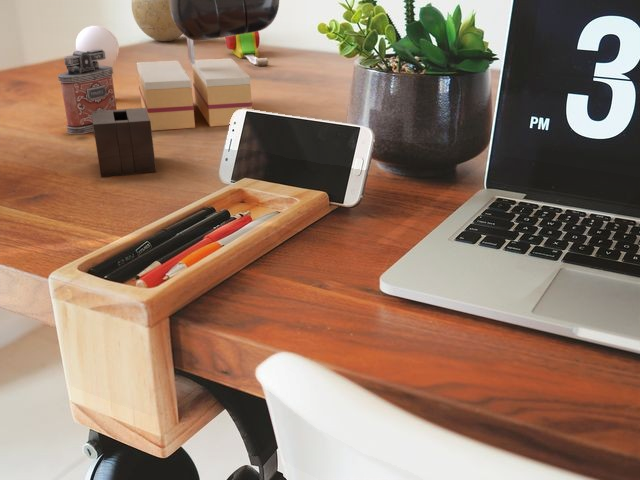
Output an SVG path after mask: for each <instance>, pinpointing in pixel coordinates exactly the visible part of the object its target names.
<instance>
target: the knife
mask: <svg viewBox="0 0 640 480" xmlns="http://www.w3.org/2000/svg"><path fill="white" fill-rule="evenodd" d="M186 46H187V54H188V55H187V56H188V61H189V62H190V64H191V65H192V64H194V63H195V60H196V57H195V55H196V54H195V44H194V41H193V40H191V39H189V38H187V37H186Z"/></svg>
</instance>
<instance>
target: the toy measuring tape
mask: <svg viewBox="0 0 640 480" xmlns="http://www.w3.org/2000/svg"><path fill="white" fill-rule="evenodd" d="M224 41H225V45H226V48H227V49H228V50H231V51H232V53H233V54H234V55H235V56H236V57H237V58H239V59H247V60H248V61H249V63H251V64H253V65H254V66H255V65H256V67H260V66H261V67H262V66H268V64H269V60H268V58H267V57H261V58H259V52H258V48H259V47H260V43H261V39H260V31H257V32H252V33H247V34H246V33H244V34H240V35H235V36H229V37H224Z"/></svg>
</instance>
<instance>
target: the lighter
mask: <svg viewBox="0 0 640 480" xmlns="http://www.w3.org/2000/svg"><path fill="white" fill-rule="evenodd" d="M104 59H106V57H105V51H103V49H97V50H91V51H87V52H82V51H76V50H75V51H73V53H72V54H71V55H67V56H63V60H64V65H65V66H66V69H67V71H66V72H62V73H59V74H57V78H58V82H59V83H60V86H61V92H62V98H63V105H64V110H65V116H66V122H67V124H66V132H67V133H68V134H69V135H83V134H88V133H94V127H93V119H92V111H101V110H118V108H117V102H116V93H115V86H114V78H113V79H112V74H113V75H114V68H112V67H110V66H99V64H98V62H97V61H98V60H104Z"/></svg>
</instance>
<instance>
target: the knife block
mask: <svg viewBox="0 0 640 480" xmlns="http://www.w3.org/2000/svg"><path fill="white" fill-rule="evenodd" d="M92 119H93V127H94V131H93V133H94V140H95V147H96V153H97V160H98V167H99V173H100V178H105V177H107V178H108V177H119V176H128V175H129V176H130V175H140V174H152V173H157V167H156V166H157V165H156V158H155V157H156V156H155V149H154V141H153V140H154V139H153V133H152V131H151V122H150V119H149V116H148V113H147V110H146V108H142V107H138V108H137V107H135V108H122V109H118V108H117V110H101V111H92Z"/></svg>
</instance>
